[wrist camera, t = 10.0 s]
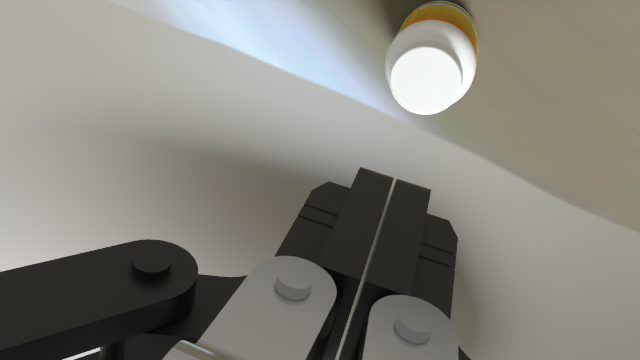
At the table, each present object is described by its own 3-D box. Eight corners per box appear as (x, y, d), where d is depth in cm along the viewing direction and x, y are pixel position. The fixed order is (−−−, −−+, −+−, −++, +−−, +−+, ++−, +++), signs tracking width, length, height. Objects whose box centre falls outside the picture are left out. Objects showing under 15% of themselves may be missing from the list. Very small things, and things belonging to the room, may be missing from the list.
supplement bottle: (404, -5, 40) (381, 27, 32) (485, 3, 39) (483, 38, 31) (395, 72, 43) (372, 120, 34) (471, 81, 42) (466, 133, 33)
